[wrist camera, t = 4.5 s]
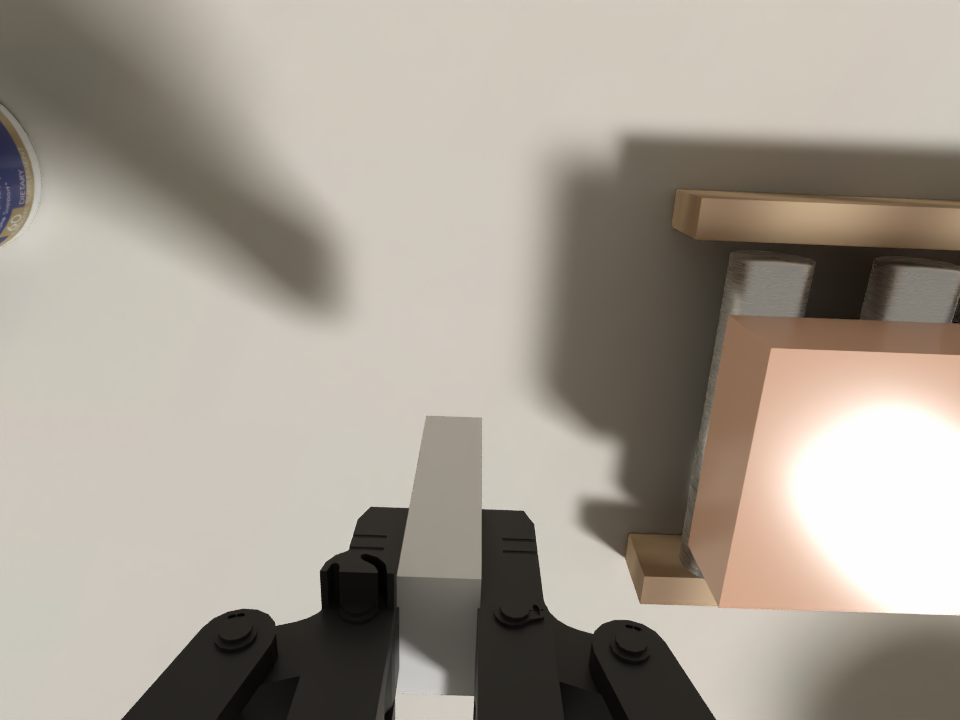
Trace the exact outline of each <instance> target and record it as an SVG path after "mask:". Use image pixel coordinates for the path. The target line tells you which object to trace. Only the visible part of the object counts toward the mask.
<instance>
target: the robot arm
mask: <svg viewBox="0 0 960 720" xmlns="http://www.w3.org/2000/svg"><path fill="white" fill-rule="evenodd" d="M320 582H321V601H322V610H321V611H320V612H319V613H317V614H315V615H313V616H311V617H309V618H307V619H304V620H300V621H297V622H293V623H288V624H283V625H278V626H275V622H274V621H273V619H272V618H271V617H270V616H269V615H268V614H266V613H264V612H261V611H259V610H254V609H240V610H235V611H230V612H227V613H224V614H222V615H220V616H218V617H216V618H214V619H212V620H211V621H210V622H209V623H208V624H206V625H205V626H204V627H203V628H202V629H201V630H200V631H199V632H198V633H197V635H196V636H195V637H194V638H193V639H192V640H191V641H190V642H189V644H188V645H187V646H186V647H185V648H184V649H183V650H182V652H181V653H180V654H179V655H178V656H177V657H176V658H175V659H174V661H173V662H172V663H171V664H170V665H169V666H168V667H167V669H166V670H165V671H164V672H163V673H162V674H161V675H160V676H159V678H158V679H157V680H156V681H155V682H154V683H153V684H152V685H151V687H150V688H149V689H148V690H147V691H146V692H145V693H144V695H143V696H142V697H141V698H140V699H139V700H138V701H137V702H136V704H135V705H134V706H133V707H132V708H131V709H130V710H129V712H128V713H127V714H126V715H125V716H124V717H123V718H122V719H121V720H395V694H396V688H397V693H402V694H432V695H462V696H474V714H473V720H716V719H715V717H714V716H713V714H712V713H711V711H710V710H709V708H708V707H707V705H706V704H705V702H704V701H703V699H702V698H701V696H700V694H699V693H698V691H697V690H696V688H695V687H694V685H693V684H692V682H691V681H690V679H689V678H688V676H687V675H686V673H685V672H684V670H683V669H682V667H681V666H680V664H679V663H678V661H677V659H676V658H675V656H674V655H673V653H672V652H671V650H670V649H669V647H668V646H667V644H666V643H665V641H664V640H663V639H662V638H661V637H660V636H659V635H658V634H657V633H656V632H655V631H653V630H652V629H650V628H648V627H647V626H645V625H643V624H640V623H637V622H633V621H629V620H613V621H610V622H607V623H604V624H602V625H601V626H600V627H599V628H598V629H597V630H596V631H595V632H594V634H591V633H587V632H584V631H580V630H577V629H574V628H572V627H569V626H567V625H565V624H563V623H562V622H560V621H558V620H557V619H556V618H555V617H554V616H553V615H552V614H551V613H550V612H549V610H548V608H547V606H546V605H545V602H544V599H543V592H542V584H541V576H540V568H539V560H538V555H537V544H536V536H535V528H534V524H533V522H532V521H531V520H530V519H529V517H528V516H527V515H526V513H525V512H524V511H513V510H486V509H482V418H471V417H445V416H426V420H425V426H424V431H423V436H422V442H421V447H420V453H419V458H418V463H417V469H416V474H415V480H414V485H413V491H412V496H411V501H410V507H409V508H388V507H370V508H369V509H368V510H367V511H366V512H365V513H364V514H363V515H362V516H361V517H360V518H359V519H358V521H357V524H356V527H355V531H354V534H353V537H352V540H351V544H350V549H349V550H348V551H346V552H344V553H341V554H338V555H335V556H334V557H333V558H331V559H330V560H328V561H327V562H326V563H325V564H324V566H323V567H322V569H321V570H320Z"/></svg>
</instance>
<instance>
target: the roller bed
mask: <svg viewBox="0 0 960 720" xmlns="http://www.w3.org/2000/svg"><path fill="white" fill-rule="evenodd" d="M815 265H816V262H815V261H814V260H812V259H809V258H806V257H802V256H798V255H792V254H787V253H779V252H771V251H756V250H743V251H734V252H731V253H730V258H729V264H728V270H727V276H726V282H725V287H724V293H723V299H722V305H721V311H720V317H719V323H718V328H717V334H716V340H715V346H714V352H713V358H712V363H711V369H710V375H709V381H708V387H707V393H706V399H705V404H704V410H703V416H702V422H701V428H700V434H699V439H698V445H697V451H696V457H695V463H694V469H693V475H692V480H691V486H690V492H689V498H688V504H687V510H686V516H685V521H684V527H683V533H682V539H681V545H680V551H679V559H680V561H681V563H682V564H683V566H684V567H685V568H686V569H687V570H688V571H690V572H691V573H692V574H694V575H696V576H698V577H700V578H702V579H704V577H703V575H702V573H701V571H700V569H699V567H698V565H697V563H696V561H695V558H694V556H693V554H692V552H691V550H690V548H689V546H688V542H689V537H690V531H691V525H692V520H693V514H694V508H695V502H696V497H697V491H698V485H699V480H700V474H701V468H702V463H703V457H704V451H705V445H706V440H707V434H708V428H709V423H710V417H711V411H712V406H713V400H714V394H715V388H716V383H717V377H718V371H719V366H720V360H721V354H722V349H723V343H724V337H725V331H726V326H727V320H728V315H748V316H773V317H800V318H804V316H805V311H806V307H807V302H808V297H809V293H810V288H811V283H812V279H813V274H814V270H815ZM959 296H960V266H959V265H956V264H952V263H947V262H942V261H937V260H930V259H923V258H915V257H903V256H879V257H875V258H874V262H873V266H872V270H871V274H870V278H869V283H868V287H867V291H866V295H865V299H864V303H863V307H862V311H861V315H860V319H859V320H878V321H905V322H928V323H952V320H953V317H954V313H955V310H956V307H957V303H958V300H959ZM704 580H705V579H704Z"/></svg>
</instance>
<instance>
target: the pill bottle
mask: <svg viewBox="0 0 960 720" xmlns="http://www.w3.org/2000/svg"><path fill="white" fill-rule="evenodd" d="M41 190H42V182H41V172H40V166H39V163H38V159H37V156H36V153H35V151H34V148H33V146H32V144H31V142H30V140H29V138H28V136H27V134H26V133H25V131H24V130H23V128H22V127H21V125H20V124H19V123H18V121H17V120H16V119H15V118H14V117H13V115H12V114H11V113H10V112H9V111H8V110H7V109H6V108H5V107H4V106H3V105H1V104H0V247H1V246H3V245H5V244H7V243H9V242H11V241H13V240H14V239H16V238H17V237H18V236H20V235H21V234H22V233H23V232H24V231H25V230H26V229H27V228H28V226H29V225H30V224H31V222H32V220H33V219H34V217H35V215H36V213H37V210H38V207H39V204H40V199H41Z"/></svg>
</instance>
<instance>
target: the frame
mask: <svg viewBox="0 0 960 720" xmlns="http://www.w3.org/2000/svg"><path fill="white" fill-rule="evenodd" d="M671 226H672V227H673V228H675V229H677V230H679V231H681V232H682V233H684V234H686V235H688V236H690V237H691V238H693V239H695V240H714V241H739V242H764V243H789V244H814V245H838V246H863V247H888V248H913V249H938V250H960V201H952V200H927V199H903V198H879V197H855V196H831V195H806V194H782V193H758V192H734V191H710V190H685V189H676V196H675V203H674V210H673V217H672V225H671ZM681 539H682V535H658V534H629V536H628V543H627V550H626V557H625V560H626V563H627V566H628V569H629V572H630V575H631V578H632V581H633V584H634V587H635V590H636V593H637V596H638V599H639V602H640V604H662V605H694V606H718V605H717V603H716V601H715V599H714V597H713V595H712V593H711V591H710V589H709V587H708V585H707V583H706V581H705V580H704V579H702V578H700V577H698V576H696V575H694V574H692V573H691V572H690V571H688V570H687V569H686V568H685V567H684V566H683V564H682V563H681V561H680V559H679V551H680V545H681Z"/></svg>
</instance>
